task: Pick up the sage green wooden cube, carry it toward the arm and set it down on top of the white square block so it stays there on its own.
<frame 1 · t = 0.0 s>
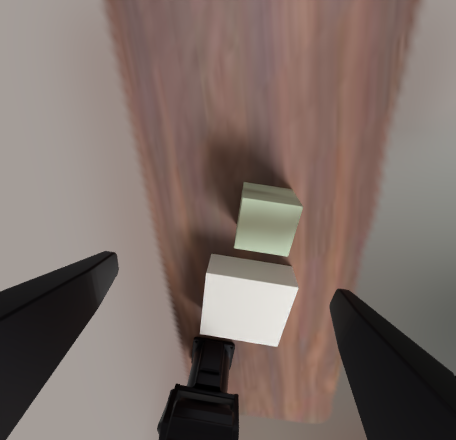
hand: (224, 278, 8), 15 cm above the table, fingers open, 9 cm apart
green cube: (262, 207, 23), on the table
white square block: (245, 288, 28), on the table
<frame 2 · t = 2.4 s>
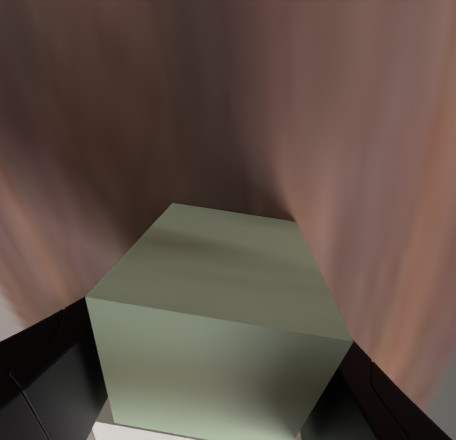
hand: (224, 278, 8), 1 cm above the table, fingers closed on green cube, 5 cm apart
green cube: (226, 262, 9), on the table, touching gripper
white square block: (206, 394, 15), on the table
when the fingers open (6 cm above the table, at t = 6.2 s): green cube drops 2 cm, point 4 cm above the table.
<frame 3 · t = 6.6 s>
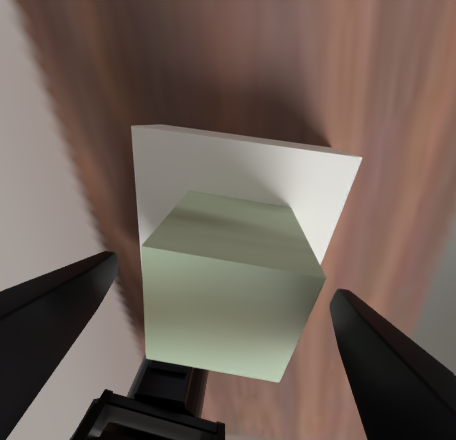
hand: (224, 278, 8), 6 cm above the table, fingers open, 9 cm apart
green cube: (231, 242, 11), point 4 cm above the table
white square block: (234, 211, 15), on the table
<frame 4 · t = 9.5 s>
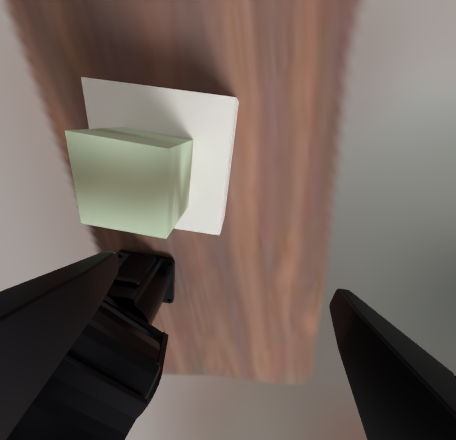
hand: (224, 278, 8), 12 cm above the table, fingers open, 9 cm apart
green cube: (157, 169, 15), point 4 cm above the table
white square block: (176, 157, 19), on the table
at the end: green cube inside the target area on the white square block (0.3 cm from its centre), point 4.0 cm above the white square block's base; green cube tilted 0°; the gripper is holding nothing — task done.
